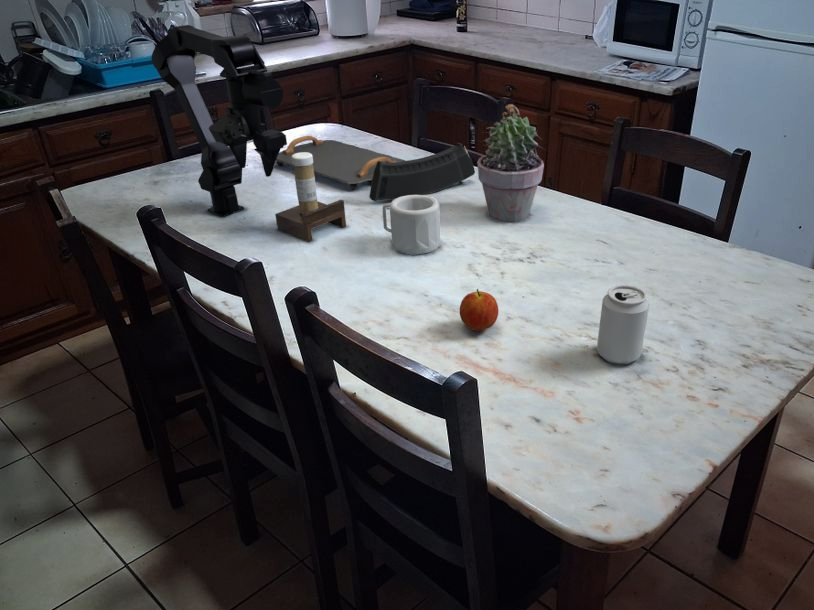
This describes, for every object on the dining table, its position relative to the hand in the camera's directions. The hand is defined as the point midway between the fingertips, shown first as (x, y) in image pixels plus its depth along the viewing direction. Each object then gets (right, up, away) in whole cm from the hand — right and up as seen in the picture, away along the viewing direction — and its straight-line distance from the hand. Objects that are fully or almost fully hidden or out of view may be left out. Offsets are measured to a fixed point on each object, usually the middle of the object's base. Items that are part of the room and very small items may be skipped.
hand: (255, 172), depth 159 cm
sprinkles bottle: (+11, -9, +4) cm, 15 cm away
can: (+74, -41, -39) cm, 93 cm away
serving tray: (+12, +11, +41) cm, 44 cm away
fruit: (+50, -36, -31) cm, 69 cm away
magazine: (+37, +1, +26) cm, 45 cm away
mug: (+35, -17, -1) cm, 39 cm away
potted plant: (+58, -8, +12) cm, 60 cm away
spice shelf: (+12, -12, +6) cm, 17 cm away
